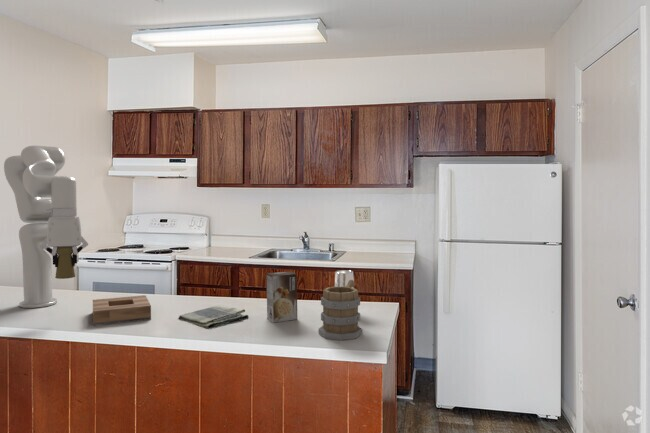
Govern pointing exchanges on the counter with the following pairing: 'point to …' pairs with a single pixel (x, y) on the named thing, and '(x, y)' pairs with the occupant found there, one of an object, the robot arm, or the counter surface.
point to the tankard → (340, 313)
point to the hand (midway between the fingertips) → (65, 265)
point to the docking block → (121, 310)
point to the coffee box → (281, 296)
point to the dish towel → (214, 316)
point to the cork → (65, 263)
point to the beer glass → (343, 277)
